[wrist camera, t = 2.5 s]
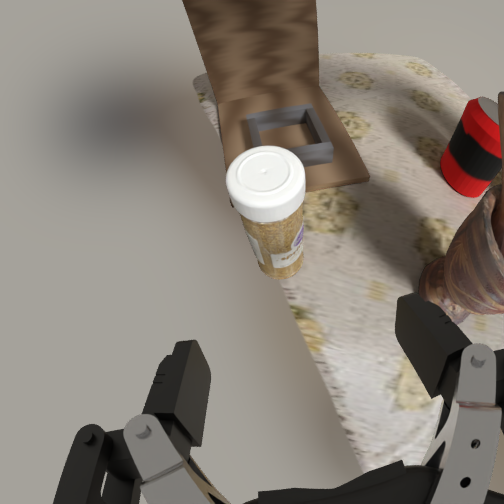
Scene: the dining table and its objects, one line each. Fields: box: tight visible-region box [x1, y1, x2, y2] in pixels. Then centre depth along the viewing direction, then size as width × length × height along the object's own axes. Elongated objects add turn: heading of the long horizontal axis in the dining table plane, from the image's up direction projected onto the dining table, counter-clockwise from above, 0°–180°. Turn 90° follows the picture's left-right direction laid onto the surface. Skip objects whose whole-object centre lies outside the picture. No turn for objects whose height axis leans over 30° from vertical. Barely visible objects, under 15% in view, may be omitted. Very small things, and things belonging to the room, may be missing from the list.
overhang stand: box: [182, 0, 370, 207], centre depth 22 cm, size 16×21×26 cm
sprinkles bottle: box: [226, 146, 306, 279], centre depth 21 cm, size 5×5×14 cm
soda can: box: [440, 97, 502, 198], centre depth 21 cm, size 8×8×12 cm
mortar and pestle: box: [419, 92, 504, 325], centre depth 14 cm, size 12×9×20 cm
